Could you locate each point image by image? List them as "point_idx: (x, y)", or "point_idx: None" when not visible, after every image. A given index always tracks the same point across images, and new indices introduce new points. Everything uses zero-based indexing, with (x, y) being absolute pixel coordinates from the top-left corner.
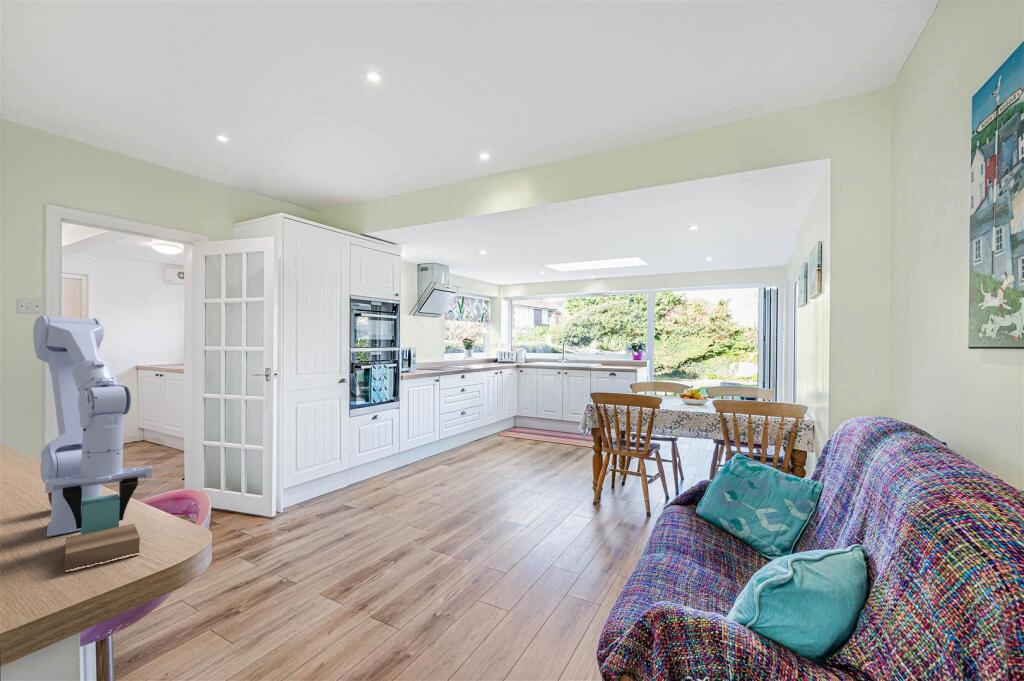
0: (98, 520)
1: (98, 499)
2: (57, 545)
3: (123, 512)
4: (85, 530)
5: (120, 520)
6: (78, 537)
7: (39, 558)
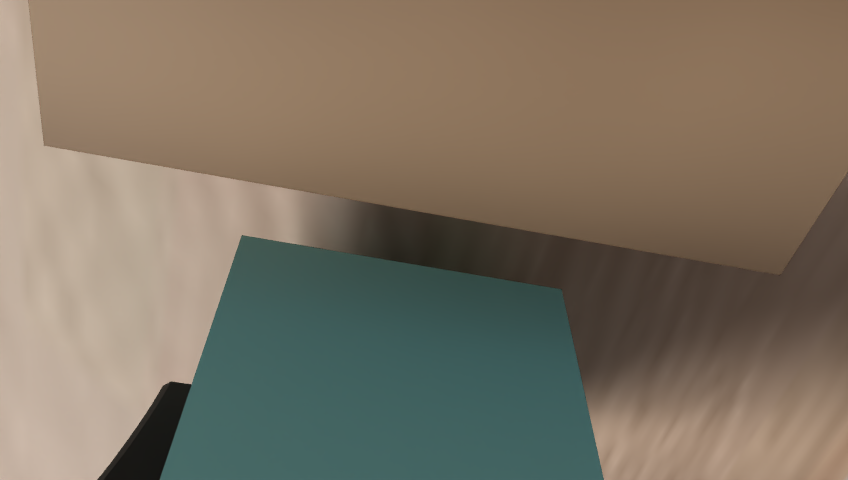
0: (426, 415)
1: None
2: (615, 424)
3: (129, 454)
4: (544, 353)
5: (189, 384)
6: (723, 147)
7: (833, 253)
